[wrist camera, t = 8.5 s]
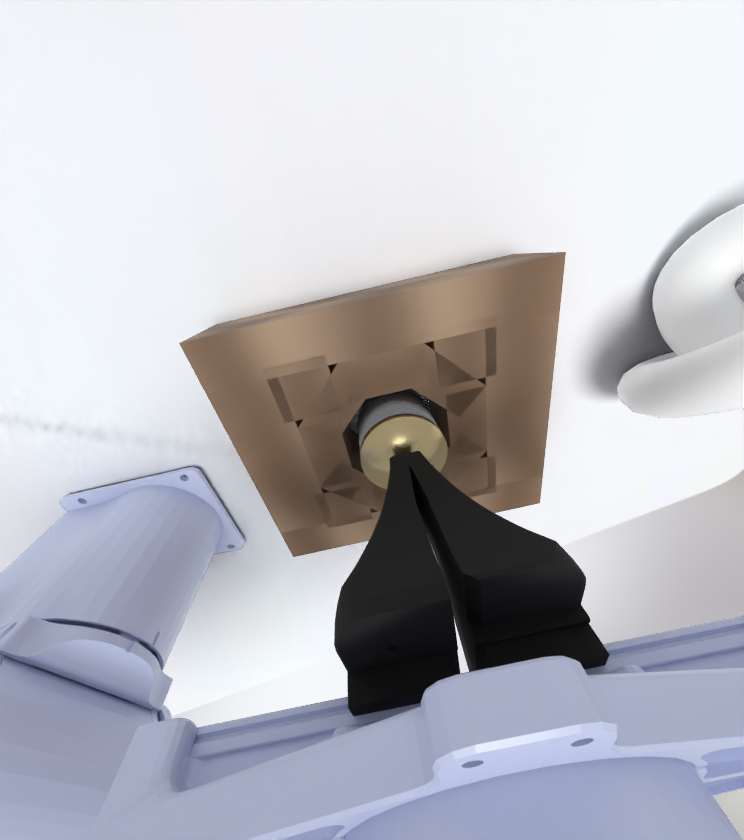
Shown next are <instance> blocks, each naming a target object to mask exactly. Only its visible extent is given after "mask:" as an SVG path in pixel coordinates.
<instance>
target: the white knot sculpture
mask: <svg viewBox="0 0 744 840" xmlns="http://www.w3.org/2000/svg"><path fill="white" fill-rule="evenodd" d="M743 274H744V203H743V204H741V205H739V206H738V207H736V208H734V209H732V210H730V211H728V212H726V213H725V214H723V215H721V216H719V217H717V218H716V219H714V220H713V221H711V222H710V223H709V224H707V225H706V226H704V227H703V228H702V229H700V230H699V231H697V232H696V233H695V234H693V235H692V236H691V237H690V238H689V239H688V240H687V241H685V242H684V243H683V244H682V245H681V246H680V247H679V248H678V249H677V250H676V251H675V252H674V253H673V254H672V256H671V257H670V259H669V260H668V261H667V263H666V264H665V266H664V267H663V268H662V270H661V272H660V274H659V276H658V279H657V281H656V283H655V286H654V291H653V297H652V302H653V311H654V314H655V319H656V323H657V326H658V329H659V331H660V333H661V335H662V337H663V338H664V340H665V341H666V343H667V344H668V345H669V346H670V348H671V349H672V350H673V351H674V352H671V353H668V354H664V355H661V356H657V357H654V358H651V359H649V360H646V361H644V362H641V363H639V364H637V365H636V366H634V367H633V368H632V369H630V370H629V371H627V372H626V373H625V374H623V376H622V378H621V380H620V382H619V384H618V387H617V391H618V395H619V399H620V401H621V402H622V403H623V404H625V405H626V406H627V407H628V408H629V409H630V410H632V411H633V412H636V413H640V414H644V415H649V416H653V417H659V418H678V417H692V416H700V415H707V414H714V413H720V412H725V411H730V410H736V409H741V408H742V409H744V281H742V282H741V283H739V284H738V285H737V286H736V287H735V283H736V281H737V279H738V278H739V277H740V276H741V275H743Z"/></svg>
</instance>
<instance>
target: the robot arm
mask: <svg viewBox="0 0 744 840" xmlns="http://www.w3.org/2000/svg"><path fill="white" fill-rule="evenodd" d="M389 461H390V472H389V480H388V486H387V491H386V495H385V499H384V503H383V507H382V510H381V513H380V516H379V519H378V521H377V524H376V526H375V529H374V531H373V533H372V536H371V538H370V540H369V542H368V544H367V546H366V548H365V550H364V552H363V554H362V555H361V557H360V559H359V561H358V563H357V564H356V566H355V568H354V569H353V571H352V572H351V574H350V575H349V577H348V578H347V580H346V581H345V583H344V584H343V586H342V588H341V592H340V596H339V600H338V605H337V611H336V618H335V641H334V645H335V649H336V652H337V654H338V655H339V657H340V659H341V661H342V662H343V664H344V666H345V668H346V670H347V671H348V697H345V698H340V699H335V700H330V701H325V702H320V703H315V704H310V705H306V706H301V707H296V708H291V709H286V710H281V711H276V712H271V713H267V714H262V715H257V716H252V717H247V718H242V719H238V720H232V721H227V722H223V723H218V724H213V725H208V726H203V727H199V728H197V726H196V725H195V724H194V723H193V722H192V721H191V720H188V719H185V718H174V719H172V717H171V713H170V711H169V710H168V708H167V707H166V706H165V705H163V703H164V700H165V698H166V695H167V693H168V690H169V688H170V685H171V683H172V681H173V680H172V678H170V677H168V676H167V675H165V674H164V673H163V672H162V670H163V668H164V666H165V663H166V661H167V659H168V657H169V654H170V652H171V650H172V647H173V645H174V643H175V641H176V638H177V636H178V634H179V631H180V629H181V627H182V625H183V622H184V620H185V618H186V615H187V613H188V611H189V609H190V606H191V604H192V602H193V599H194V597H195V595H196V593H197V590H198V588H199V586H200V583H201V581H202V579H203V577H204V574H205V572H206V570H207V567H208V565H209V563H210V561H211V558H212V556H213V555H214V554H219V553H223V552H228V551H232V550H237V549H241V548H243V547H244V544H245V540H244V538H243V537H242V535H241V533H240V532H239V530H238V529H237V527H236V525H235V524H234V522H233V521H232V519H231V518H230V516H229V514H228V513H227V511H226V510H225V508H224V507H223V505H222V503H221V502H220V500H219V499H218V497H217V496H216V494H215V492H214V491H213V489H212V488H211V486H210V485H209V483H208V481H207V480H206V478H205V477H204V475H203V474H202V472H201V471H200V470H199V469H198V468H195V467H189V468H184V469H180V470H176V471H171V472H167V473H162V474H158V475H154V476H149V477H145V478H140V479H136V480H132V481H127V482H123V483H118V484H114V485H109V486H105V487H101V488H96V489H92V490H87V491H83V492H79V493H74V494H70V495H66V496H64V497H63V498H62V499H61V500H60V505H61V506H62V507H63V508H64V509H65V510H66V511H67V513H66V514H65V515H64V516H63V517H62V518H61V519H59V520H58V521H57V522H56V523H55V524H54V525H53V526H52V527H51V528H50V529H49V530H47V531H46V532H45V533H44V534H43V535H42V536H41V537H40V538H39V539H38V540H37V541H35V542H34V543H33V544H32V545H31V546H30V547H29V548H28V549H27V550H26V551H25V552H23V553H22V554H21V555H20V556H19V557H18V558H17V559H16V560H15V561H14V562H13V563H11V564H10V565H9V566H8V567H7V568H6V569H5V570H4V571H3V572H2V573H1V574H0V840H743V839H742V838H741V836H740V835H739V833H738V832H737V831H736V829H735V828H734V826H733V825H732V823H731V822H730V820H729V819H728V818H727V816H726V815H725V813H724V812H723V810H722V809H721V807H720V806H719V805H718V803H717V802H716V800H715V799H714V797H713V796H716V795H720V794H724V793H728V792H733V791H737V790H741V789H744V616H739V617H734V618H729V619H724V620H719V621H715V622H710V623H705V624H700V625H695V626H691V627H686V628H681V629H676V630H671V631H666V632H661V633H656V634H651V635H647V636H642V637H637V638H632V639H627V640H623V641H617V642H612V643H608V644H602V643H601V641H600V640H599V638H598V637H597V635H596V634H595V632H594V631H593V629H592V628H591V626H590V625H589V622H590V618H589V616H588V615H587V613H586V611H585V610H584V609H583V607H582V606H581V601H582V597H583V593H584V590H585V585H586V577H585V575H584V574H583V572H582V570H581V569H580V568H579V566H578V565H577V564H576V563H575V561H574V560H573V559H572V558H571V557H570V556H569V555H568V553H567V552H566V551H565V550H564V549H563V548H562V547H561V546H560V545H559V544H558V543H557V542H556V541H554V540H551V539H549V538H546V537H544V536H541V535H539V534H536V533H534V532H531V531H529V530H527V529H524V528H522V527H520V526H518V525H516V524H514V523H512V522H510V521H508V520H506V519H504V518H502V517H500V516H499V515H497V514H495V513H493V512H491V511H490V510H488V509H486V508H485V507H483V506H482V505H480V504H478V503H477V502H476V501H474V500H473V499H471V498H470V497H468V496H467V495H466V494H464V493H463V492H462V491H460V490H459V489H458V488H457V487H455V486H454V485H453V484H452V483H451V482H449V481H448V480H447V479H446V478H445V477H444V476H443V475H442V474H441V473H440V472H439V471H438V470H437V469H436V468H435V467H434V466H433V465H432V464H431V463H430V462H429V461H428V460H427V459H426V458H425V456H424V455H423V454H422V453H421V452H420V451H414V452H410V453H405V454H401V455H397V456H392V457H391V458H390V459H389ZM184 475H186V476H187V477H185V476H184ZM427 535H428V536H427ZM429 540H430V541H429ZM430 543H431V544H430ZM431 545H432V546H431ZM432 548H433V549H432ZM433 550H434V552H433ZM434 553H435V554H434ZM435 556H436V557H435ZM436 559H437V560H436ZM437 561H438V562H437ZM438 564H439V565H438ZM454 619H455V623H456V626H457V630H458V633H459V636H460V640H461V644H462V647H463V651H464V655H465V658H466V662H467V665H468V669H469V672H466V673H461V674H460V669H459V661H458V653H457V650H458V646H457V639H456V631H455V624H454Z"/></svg>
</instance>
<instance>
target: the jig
mask: <svg viewBox="0 0 744 840" xmlns="http://www.w3.org/2000/svg"><path fill="white" fill-rule="evenodd" d="M565 254H566V252H558V253H530V254H512V255H508V256H504V257H500V258H495V259H491V260H487V261H483V262H478V263H474V264H470V265H466V266H462V267H457V268H453V269H449V270H445V271H440V272H436V273H432V274H428V275H424V276H419V277H415V278H411V279H407V280H402V281H398V282H394V283H390V284H386V285H381V286H377V287H373V288H369V289H364V290H360V291H356V292H352V293H348V294H343V295H339V296H335V297H331V298H326V299H322V300H318V301H314V302H310V303H305V304H301V305H297V306H293V307H288V308H284V309H280V310H276V311H272V312H267V313H263V314H259V315H255V316H250V317H246V318H242V319H238V320H234V321H229V322H225V323H221V324H217V325H214V326H212V327H210V328H209V329H207V330H205V331H203V332H201V333H199V334H197V335H195V336H193V337H191V338H189V339H187V340H185V341H183V342H181V343H179V344H180V346H181V347H182V349H183V351H184V353H185V355H186V357H187V359H188V360H189V362H190V364H191V366H192V368H193V370H194V372H195V374H196V375H197V377H198V379H199V381H200V383H201V385H202V387H203V389H204V390H205V392H206V394H207V396H208V398H209V400H210V402H211V404H212V405H213V407H214V409H215V411H216V413H217V415H218V417H219V419H220V420H221V422H222V424H223V426H224V428H225V430H226V432H227V434H228V435H229V437H230V439H231V441H232V443H233V445H234V447H235V448H236V450H237V452H238V454H239V456H240V458H241V460H242V462H243V463H244V465H245V467H246V469H247V471H248V473H249V475H250V477H251V478H252V480H253V482H254V484H255V486H256V488H257V490H258V492H259V493H260V495H261V497H262V499H263V501H264V503H265V505H266V507H267V508H268V510H269V512H270V514H271V516H272V518H273V520H274V521H275V523H276V525H277V527H278V529H279V531H280V533H281V535H282V536H283V538H284V540H285V542H286V544H287V546H288V548H289V550H290V551H291V553H292V555H293V557H295V556H300V555H305V554H309V553H314V552H318V551H323V550H327V549H332V548H337V547H341V546H346V545H350V544H355V543H359V542H364V541H369V540H370V538H371V536H372V533H373V531H374V529H375V526H376V524H377V521H378V519H379V516H380V513H381V510H382V507H383V503H384V499H385V495H386V491H387V489H384V488H381V487H379V486H377V485H375V484H374V483H372V482H371V481H370V480H369V479H368V478H367V476H366V475H365V473H364V472H363V469H362V466H361V460H360V448H359V437H358V434H356V433H354V432H352V431H350V427H349V423H350V421H351V420H352V418H353V417H354V415H355V414H356V412H357V411H358V409H359V408H360V406H361V405H362V404H363V402H364V401H365V399H368V398H372V397H376V396H381V395H385V394H389V393H394V392H398V391H402V390H407V389H411V388H412V389H413V390H415V391H417V392H418V393H420V394H422V395H423V396H425V397H427V398H428V399H429V404H430V413H431V415H432V417H433V419H434V420H435V422H436V424H437V426H438V427H439V429H440V431H441V433H442V434H443V436H444V438H445V440H446V443H447V450H448V453H447V459H446V462H445V464H444V466H443V468H442V470H441V471H440V473H441V474H442V475H443V476H444V477H445V478H446V479H447V480H448V481H449V482H451V483H452V484H453V485H454V486H455V487H457V488H458V489H459V490H460V491H462V492H463V493H464V494H466V495H467V496H468V497H470V498H471V499H473V500H474V501H476V502H477V503H478V504H480V505H482V506H483V507H485V508H486V509H488V510H490V511H491V512H493V513H496V512H501V511H506V510H510V509H515V508H519V507H524V506H528V505H533V504H538V503H540V496H541V486H542V476H543V467H544V457H545V447H546V438H547V428H548V418H549V409H550V399H551V389H552V380H553V370H554V360H555V351H556V341H557V331H558V322H559V312H560V302H561V293H562V283H563V273H564V264H565Z"/></svg>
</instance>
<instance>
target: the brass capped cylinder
mask: <svg viewBox="0 0 744 840" xmlns="http://www.w3.org/2000/svg"><path fill="white" fill-rule="evenodd" d="M356 415H357V426H358V437H359V448H360V460H361V466H362V469H363V472H364V473H365V475H366V476H367V478H368V479H369V480H370V481H371V482H372V483H374V484H375V485H377V486H379V487H381V488H384V489H387V486H388V480H389V472H390V461H389V459H390V458H391V457H392V456H397V455H401V454H405V453H410V452H414V451H420V452H421V453H422V454H423V455H424V456H425V458H426V459H427V460H428V461H429V462H430V463H431V464H432V465H433V466H434V467H435V468H436V469H437V470H438V471H439V472H440V471H441V470H442V468H443V466H444V464H445V462H446V459H447V453H448V450H447V443H446V440H445V438H444V436H443V434H442V433H441V431H440V429H439V427H438V426H437V424H436V422H435V420H434V419H433V417H432V415H431V413H430V412H429V410H428V408H427V406H426V405H425V403H424V401H423V399H422V398H421V396H420V394H419V393H418V392H417V391H415V390H413V389H412V388H411V389H407V390H402V391H398V392H394V393H389V394H385V395H381V396H376V397H372V398H368V399H365V401H364V402H363V404H362V405H361V406H360V408H359V409H358V411H357V412H356Z"/></svg>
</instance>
